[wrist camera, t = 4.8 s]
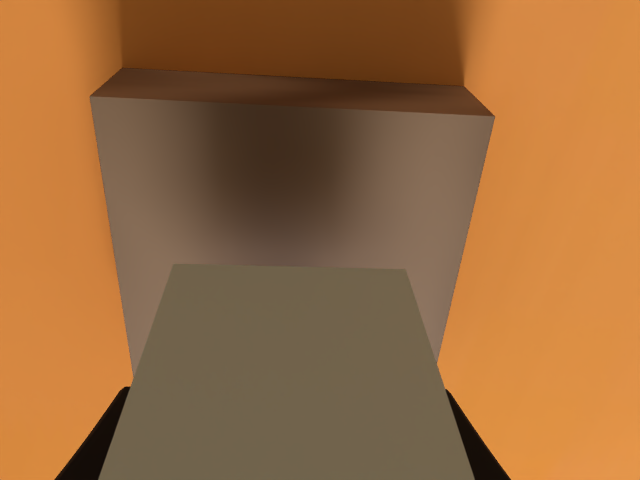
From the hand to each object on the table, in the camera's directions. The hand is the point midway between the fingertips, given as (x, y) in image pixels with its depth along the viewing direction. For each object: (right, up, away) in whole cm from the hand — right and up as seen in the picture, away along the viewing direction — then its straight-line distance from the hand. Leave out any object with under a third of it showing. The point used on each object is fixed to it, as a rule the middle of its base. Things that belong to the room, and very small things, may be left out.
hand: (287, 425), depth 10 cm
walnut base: (0, +4, +7) cm, 8 cm away
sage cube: (0, +1, +2) cm, 2 cm away
